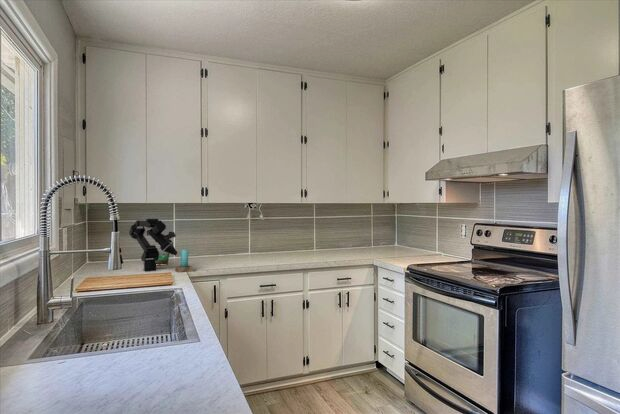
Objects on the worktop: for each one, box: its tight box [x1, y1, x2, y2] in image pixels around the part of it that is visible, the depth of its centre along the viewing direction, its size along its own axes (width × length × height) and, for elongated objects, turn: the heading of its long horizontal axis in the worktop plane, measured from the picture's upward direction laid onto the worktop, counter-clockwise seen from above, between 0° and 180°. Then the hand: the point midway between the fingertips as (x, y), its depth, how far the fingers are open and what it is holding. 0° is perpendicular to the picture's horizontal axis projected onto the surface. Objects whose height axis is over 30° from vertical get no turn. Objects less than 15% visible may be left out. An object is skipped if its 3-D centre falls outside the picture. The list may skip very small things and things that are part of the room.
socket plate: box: [174, 265, 195, 273], centre depth 237 cm, size 9×9×2 cm
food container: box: [152, 250, 170, 265], centre depth 263 cm, size 12×6×10 cm, turn 105°
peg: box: [180, 249, 189, 268], centre depth 237 cm, size 4×4×13 cm
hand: (176, 254), depth 236 cm, fingers open, 9 cm apart
